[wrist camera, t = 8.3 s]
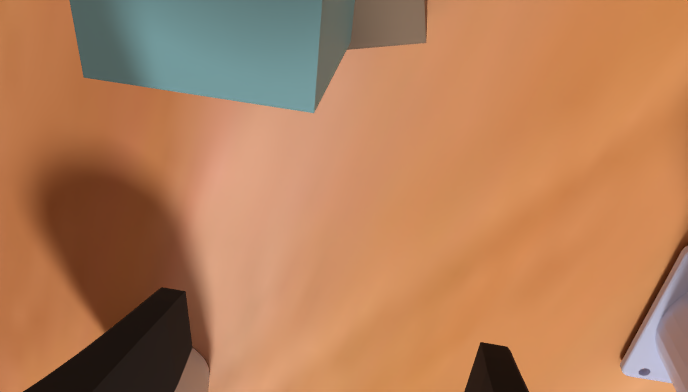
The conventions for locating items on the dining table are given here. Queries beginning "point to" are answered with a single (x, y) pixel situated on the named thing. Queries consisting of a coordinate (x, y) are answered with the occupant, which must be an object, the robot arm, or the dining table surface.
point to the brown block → (388, 23)
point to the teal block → (217, 46)
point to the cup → (194, 374)
